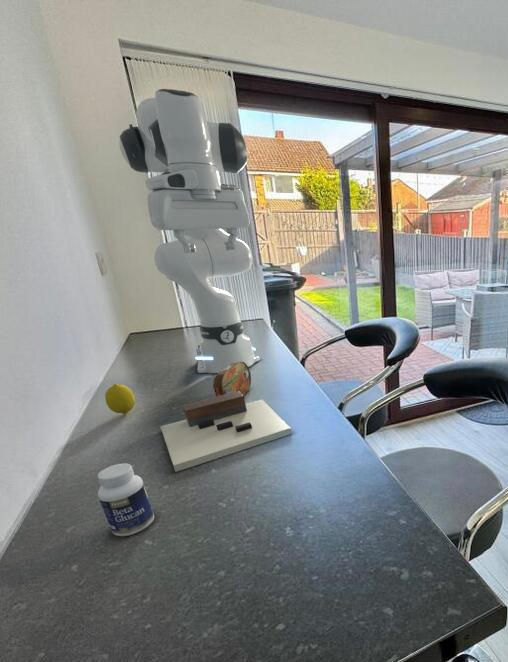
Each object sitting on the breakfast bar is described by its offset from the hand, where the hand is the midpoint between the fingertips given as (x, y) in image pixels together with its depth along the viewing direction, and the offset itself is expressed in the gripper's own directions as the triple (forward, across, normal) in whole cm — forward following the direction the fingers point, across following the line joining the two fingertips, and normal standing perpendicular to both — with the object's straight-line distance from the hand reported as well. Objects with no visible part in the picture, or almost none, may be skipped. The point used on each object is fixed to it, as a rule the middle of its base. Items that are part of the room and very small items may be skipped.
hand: (211, 251), depth 88 cm
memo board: (+37, +12, +10) cm, 40 cm away
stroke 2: (+36, +12, +10) cm, 39 cm away
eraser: (+36, +9, +3) cm, 37 cm away
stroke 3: (+36, +10, +15) cm, 40 cm away
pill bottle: (+38, +36, +24) cm, 57 cm away
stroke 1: (+36, +13, +6) cm, 39 cm away
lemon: (+37, +18, -22) cm, 47 cm away
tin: (+37, -2, -6) cm, 38 cm away
